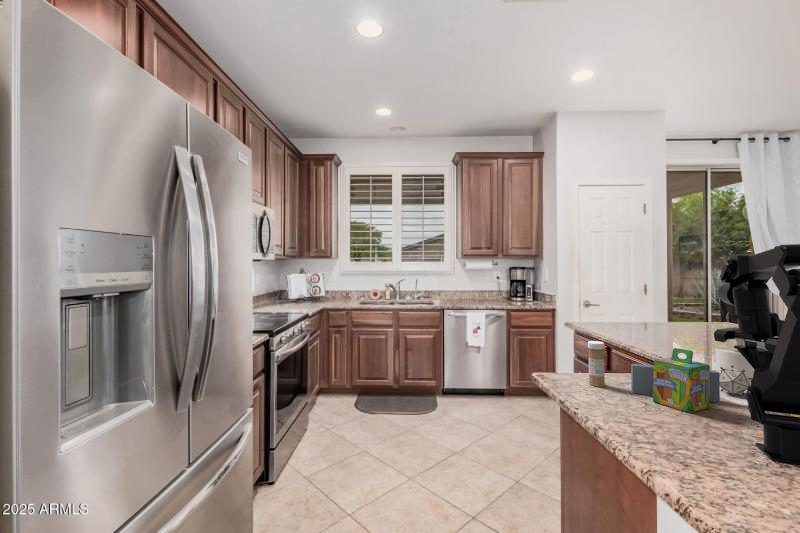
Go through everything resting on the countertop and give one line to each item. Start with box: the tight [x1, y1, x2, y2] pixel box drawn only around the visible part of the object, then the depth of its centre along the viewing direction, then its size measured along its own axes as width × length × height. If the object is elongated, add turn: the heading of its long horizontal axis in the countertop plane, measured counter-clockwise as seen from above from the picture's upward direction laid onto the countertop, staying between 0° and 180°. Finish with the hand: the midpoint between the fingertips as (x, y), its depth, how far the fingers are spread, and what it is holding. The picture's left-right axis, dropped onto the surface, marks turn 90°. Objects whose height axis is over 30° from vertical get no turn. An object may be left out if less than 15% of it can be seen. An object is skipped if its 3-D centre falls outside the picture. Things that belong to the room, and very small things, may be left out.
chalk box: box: [652, 347, 711, 414], centre depth 97 cm, size 9×9×15 cm
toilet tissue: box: [715, 346, 754, 385], centre depth 115 cm, size 11×12×10 cm
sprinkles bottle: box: [587, 340, 606, 388], centre depth 114 cm, size 5×5×14 cm
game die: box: [719, 365, 752, 398], centre depth 105 cm, size 9×8×10 cm
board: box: [630, 363, 721, 403], centre depth 103 cm, size 2×20×8 cm, turn 66°
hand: (764, 378), depth 82 cm, fingers closed
